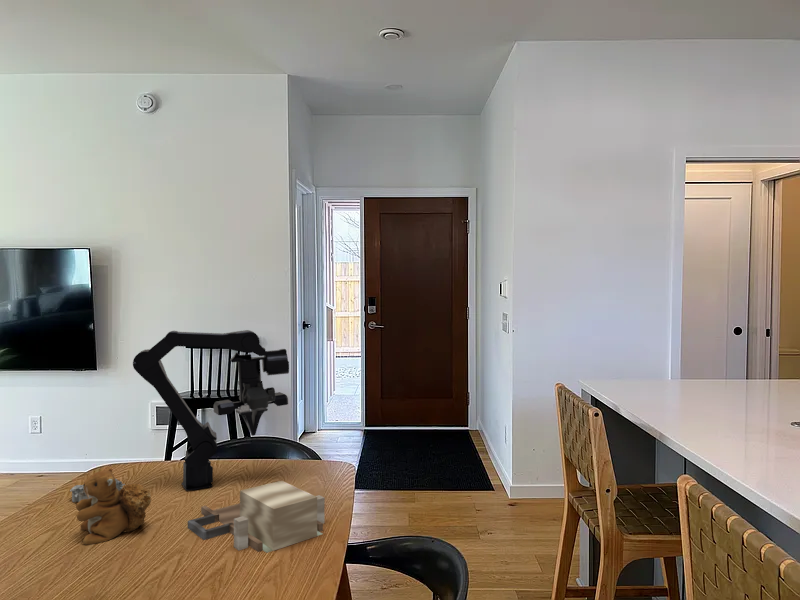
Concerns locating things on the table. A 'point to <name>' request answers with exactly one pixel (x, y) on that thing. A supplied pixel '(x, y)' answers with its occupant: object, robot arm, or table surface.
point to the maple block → (279, 514)
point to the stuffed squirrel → (110, 507)
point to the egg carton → (79, 494)
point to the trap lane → (238, 525)
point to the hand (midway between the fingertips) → (253, 435)
